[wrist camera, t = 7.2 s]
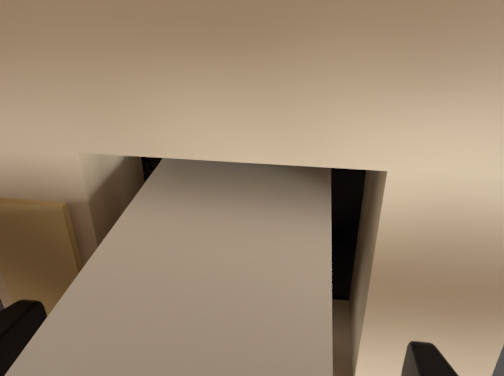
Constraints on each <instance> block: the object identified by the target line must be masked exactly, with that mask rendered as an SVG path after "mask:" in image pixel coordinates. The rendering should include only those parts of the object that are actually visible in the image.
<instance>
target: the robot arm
mask: <svg viewBox="0 0 504 376" xmlns="http://www.w3.org/2000/svg"><path fill="white" fill-rule="evenodd" d="M46 318H47V314H46V311H45V307H44V305H43V304H42V303H41V302H40V301H36V300H27V299H22V300H19V301H17V302H15V303H13V304H11V305H10V306H8V307H6V308H5V309H3V310H1V311H0V376H5V374H6V373H7V371H8V370H9V369H10V367H11V366H12V365H13V363H14V362H15V360H16V359H17V358H18V356H19V355H20V354H21V352H22V351H23V350H24V348H25V347H26V345H27V344H28V343H29V341H30V340H31V339H32V337H33V336H34V334H35V333H36V332H37V330H38V329H39V328H40V326H41V325H42V323H43V322H44V321H45V319H46ZM401 376H459V375H458V374H457V373H456V372H455V370H454V369H453V368H452V367H451V365H450V364H449V363H448V361H447V360H446V359H445V358H444V356H443V355H442V354H441V353H440V351H439V350H438V349H437V347H436V346H435V345H434V344H432V343H429V342H420V341H410V342H409V344H408V346H407V350H406V354H405V358H404V363H403V367H402V372H401Z"/></svg>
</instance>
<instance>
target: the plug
mask: <svg viewBox="0 0 504 376" xmlns="http://www.w3.org/2000/svg"><path fill="white" fill-rule="evenodd" d="M5 376H333V346H332V228H331V168H325V167H308V166H291V165H274V164H257V163H240V162H224V161H207V160H190V159H173V158H163V159H162V160H161V162H160V163H159V164H158V166H157V167H156V168H155V170H154V171H153V172H152V174H151V175H150V177H149V178H148V179H147V181H146V182H145V183H144V185H143V186H142V188H141V189H140V190H139V192H138V193H137V194H136V196H135V197H134V199H133V200H132V201H131V203H130V204H129V205H128V207H127V208H126V210H125V211H124V212H123V214H122V215H121V216H120V218H119V219H118V221H117V222H116V223H115V225H114V226H113V227H112V229H111V230H110V232H109V233H108V234H107V236H106V237H105V238H104V240H103V241H102V242H101V244H100V245H99V247H98V248H97V249H96V251H95V252H94V253H93V255H92V256H91V258H90V259H89V260H88V262H87V263H86V264H85V266H84V267H83V269H82V270H81V271H80V273H79V274H78V275H77V277H76V278H75V280H74V281H73V282H72V284H71V285H70V286H69V288H68V289H67V291H66V292H65V293H64V295H63V296H62V297H61V299H60V300H59V301H58V303H57V304H56V306H55V307H54V308H53V310H52V311H51V312H50V314H49V315H48V317H47V318H46V319H45V321H44V322H43V323H42V325H41V326H40V328H39V329H38V330H37V332H36V333H35V334H34V336H33V337H32V339H31V340H30V341H29V343H28V344H27V345H26V347H25V348H24V350H23V351H22V352H21V354H20V355H19V356H18V358H17V359H16V360H15V362H14V363H13V365H12V366H11V367H10V369H9V370H8V371H7V373H6V374H5Z"/></svg>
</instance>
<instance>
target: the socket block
mask: <svg viewBox="0 0 504 376" xmlns="http://www.w3.org/2000/svg"><path fill="white" fill-rule="evenodd" d="M141 157H156V158H173V159H190V160H207V161H224V162H240V163H257V164H274V165H291V166H308V167H325V168H342V169H359V170H366V174H365V181H364V189H363V196H362V204H361V212H360V219H359V227H358V234H357V242H356V250H355V257H354V265H353V272H352V280H351V288H350V295H349V301H347V300H337V299H332V346H333V376H401V372H402V367H403V363H404V358H405V354H406V350H407V346H408V344H409V342H410V341H420V342H429V343H432V344H434V345H435V346H436V347H437V349H438V350H439V351H440V353H441V354H442V355H443V356H444V358H445V359H446V360H447V361H448V363H449V364H450V365H451V367H452V368H453V369H454V370H455V372H456V373H457V374H458V375H459V376H492V373H493V371H494V368H495V366H496V363H497V360H498V358H499V355H500V353H501V350H502V347H503V345H504V0H0V299H1V301H2V304H3V307H4V309H5V308H6V307H8V306H10V305H11V304H13V303H15V302H17V301H19V300H22V299H27V300H36V301H40V302H41V303H42V304H43V305H44V307H45V311H46V314H47V317H48V315H49V314H50V312H51V311H52V310H53V308H54V307H55V306H56V304H57V303H58V301H59V300H60V299H61V297H62V296H63V295H64V293H65V292H66V291H67V289H68V288H69V286H70V285H71V284H72V282H73V281H74V280H75V278H76V277H77V275H78V274H79V273H80V271H81V270H82V269H83V267H84V266H85V264H86V263H87V262H88V260H89V259H90V258H91V256H92V255H93V253H94V252H95V251H96V249H97V248H98V247H99V245H100V244H101V242H102V241H103V240H104V238H105V237H106V236H107V234H108V233H109V232H110V230H111V229H112V227H113V226H114V225H115V223H116V222H117V221H118V219H119V218H120V216H121V215H122V214H123V212H124V211H125V210H126V208H127V207H128V205H129V204H130V203H131V201H132V200H133V199H134V197H135V196H136V194H137V193H138V192H139V190H140V189H141V188H142V186H143V185H144V183H145V180H144V173H143V166H142V159H141Z"/></svg>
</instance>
